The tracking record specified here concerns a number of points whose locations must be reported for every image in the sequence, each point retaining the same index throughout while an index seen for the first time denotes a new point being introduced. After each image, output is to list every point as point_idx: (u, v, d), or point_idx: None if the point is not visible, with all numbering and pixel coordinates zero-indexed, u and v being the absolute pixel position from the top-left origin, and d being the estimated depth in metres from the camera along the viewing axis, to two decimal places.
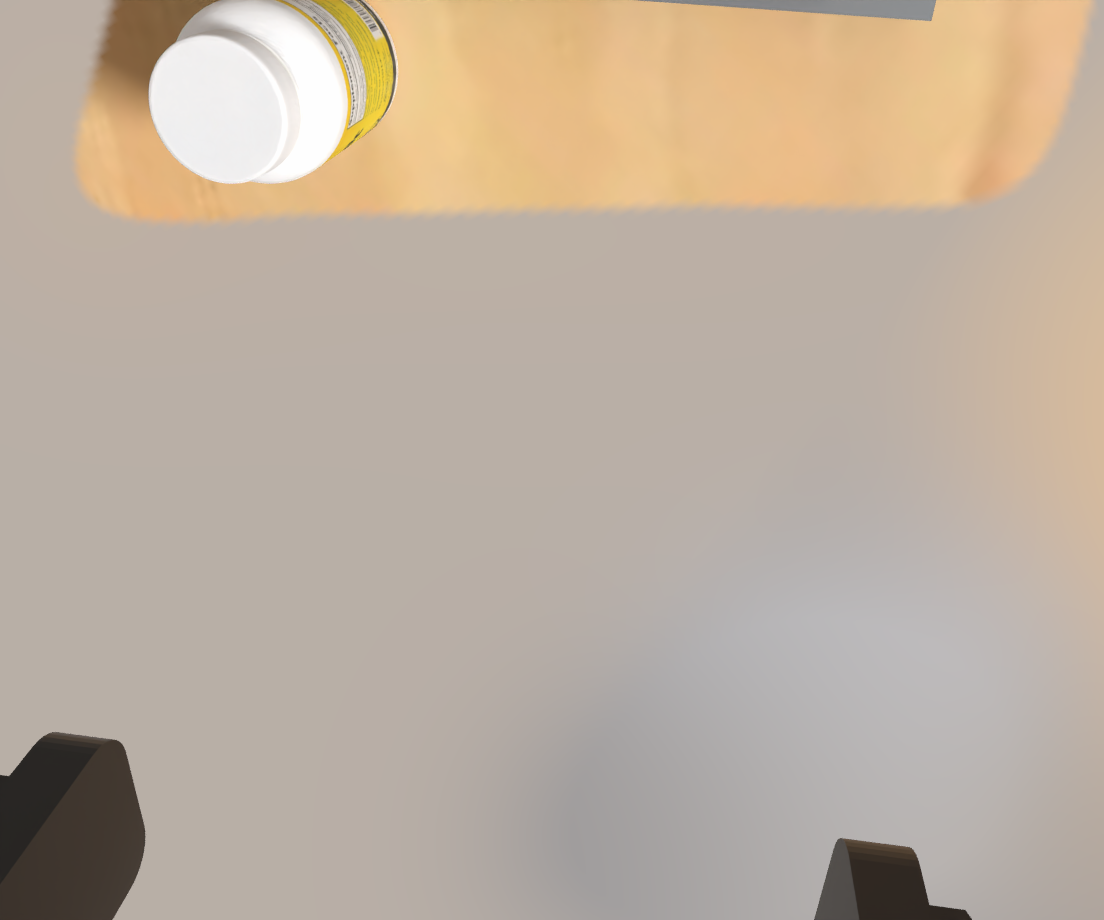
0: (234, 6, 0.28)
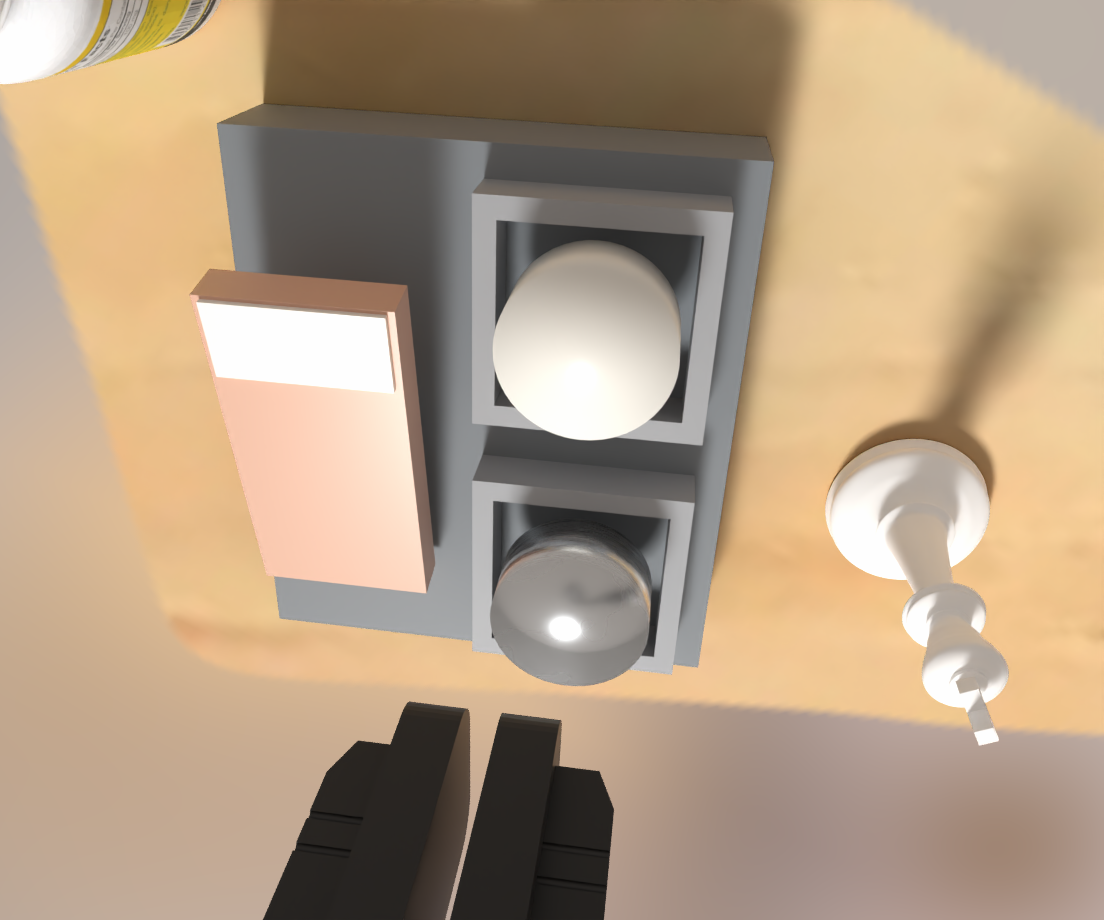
0: None
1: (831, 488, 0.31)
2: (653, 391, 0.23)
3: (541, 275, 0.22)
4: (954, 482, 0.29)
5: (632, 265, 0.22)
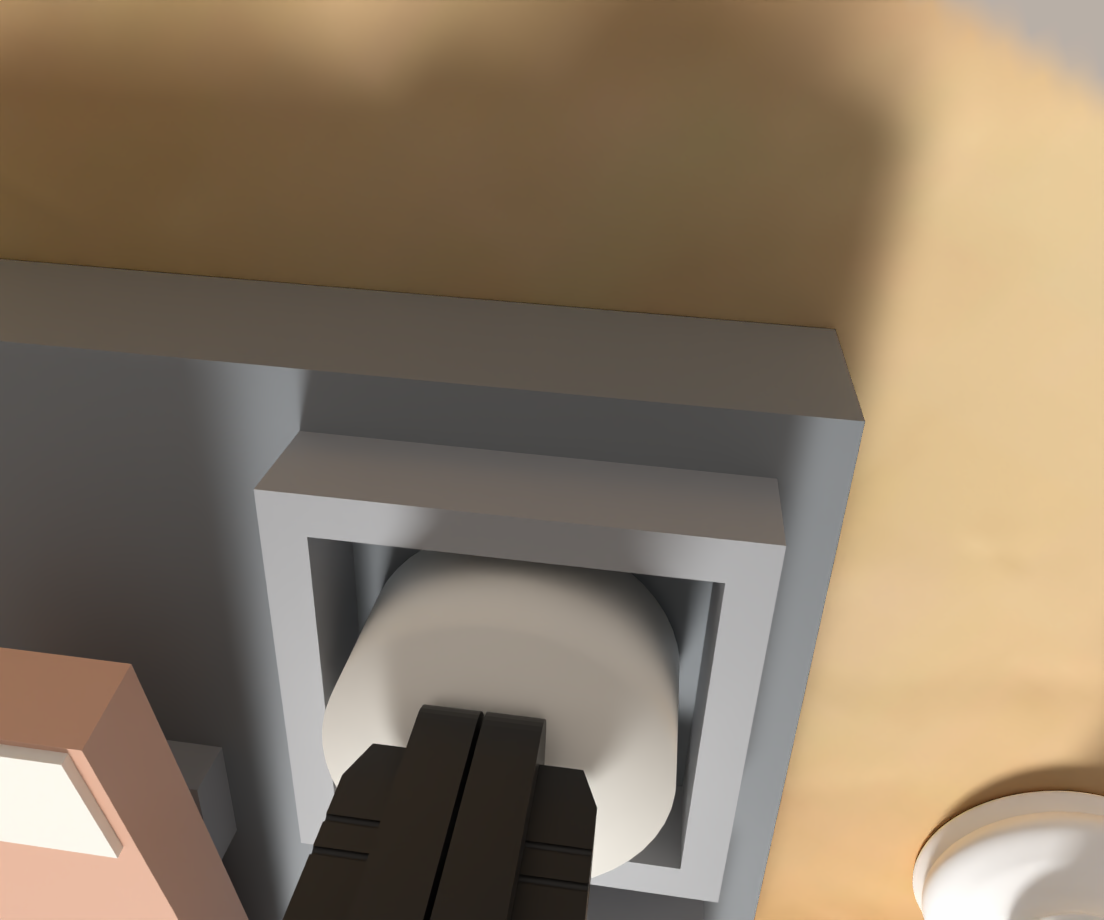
0: None
1: (925, 850, 0.19)
2: (626, 826, 0.12)
3: (403, 638, 0.11)
4: None
5: (585, 600, 0.12)
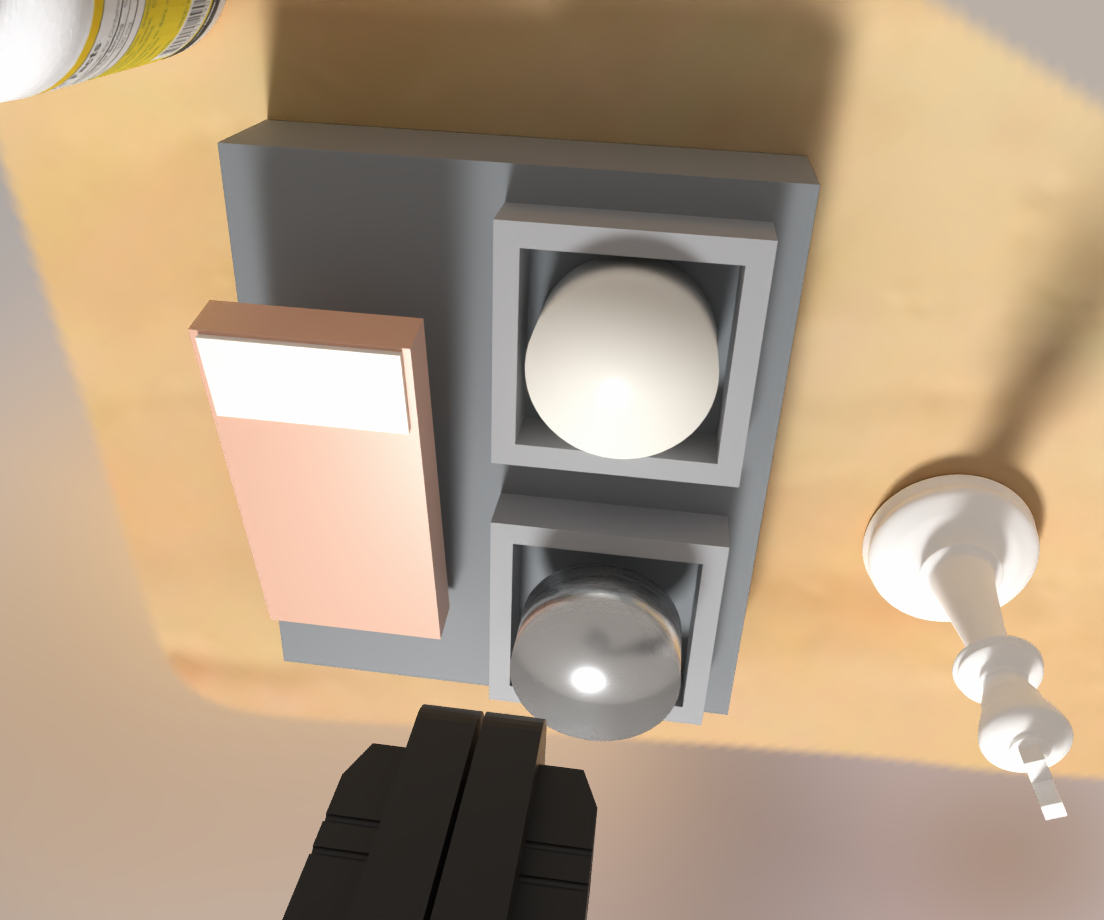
0: None
1: (869, 525, 0.29)
2: (690, 409, 0.22)
3: (577, 291, 0.21)
4: (1002, 521, 0.27)
5: (670, 279, 0.22)
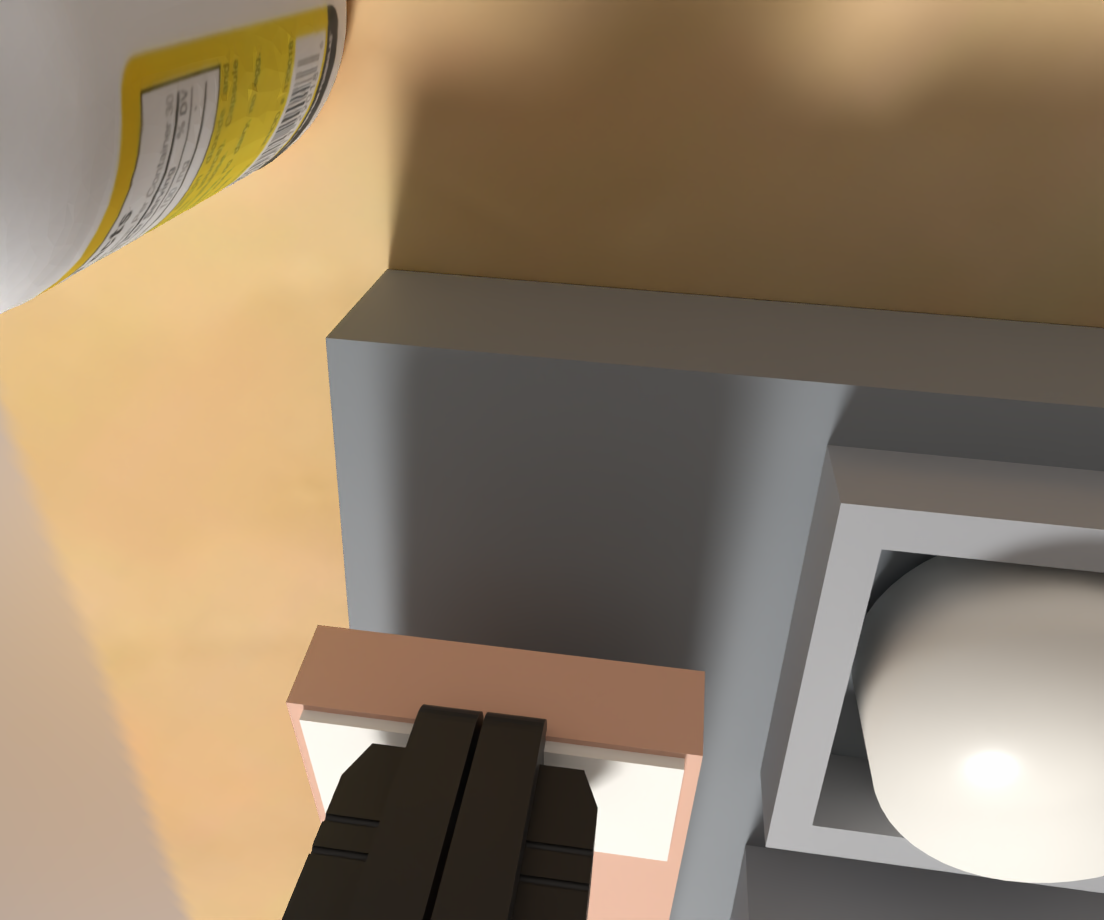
0: (20, 37, 0.07)
1: None
2: None
3: (1003, 641, 0.11)
4: None
5: None
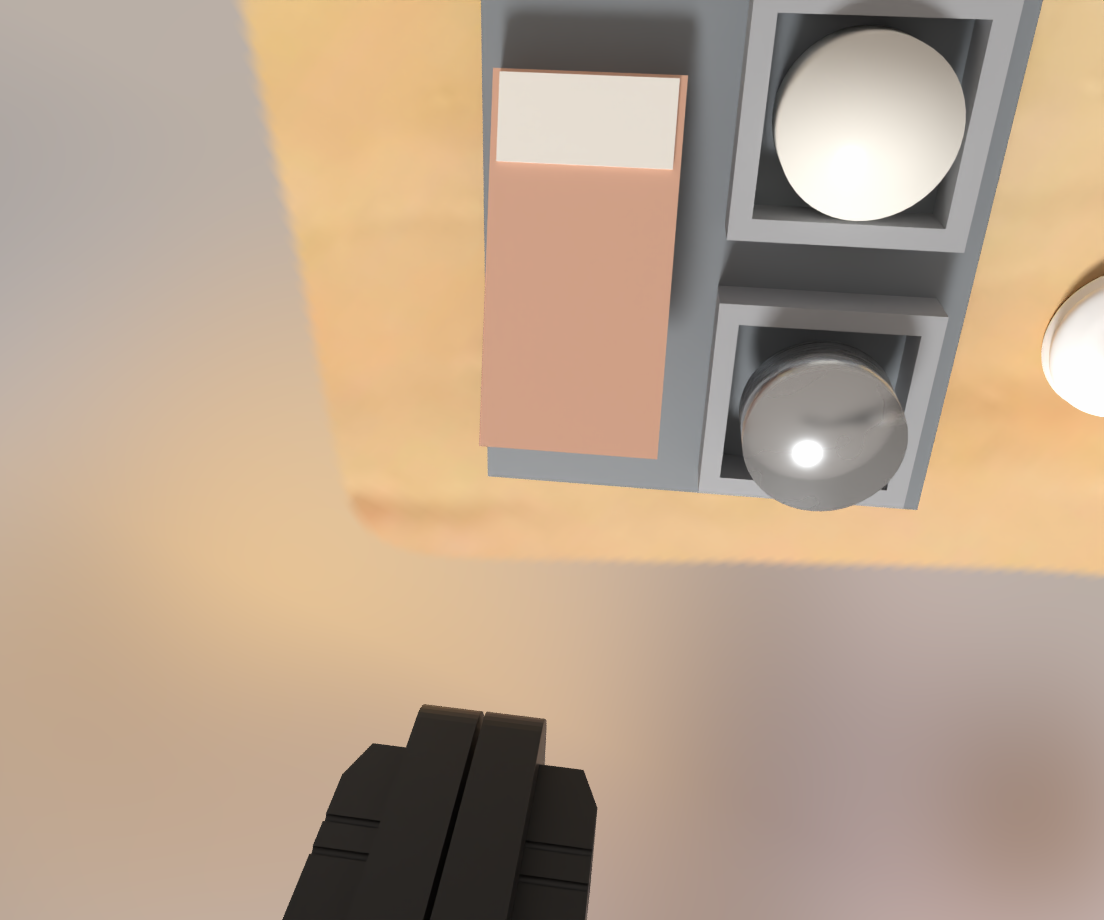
0: None
1: (1050, 324, 0.31)
2: (934, 164, 0.24)
3: (837, 46, 0.23)
4: None
5: None
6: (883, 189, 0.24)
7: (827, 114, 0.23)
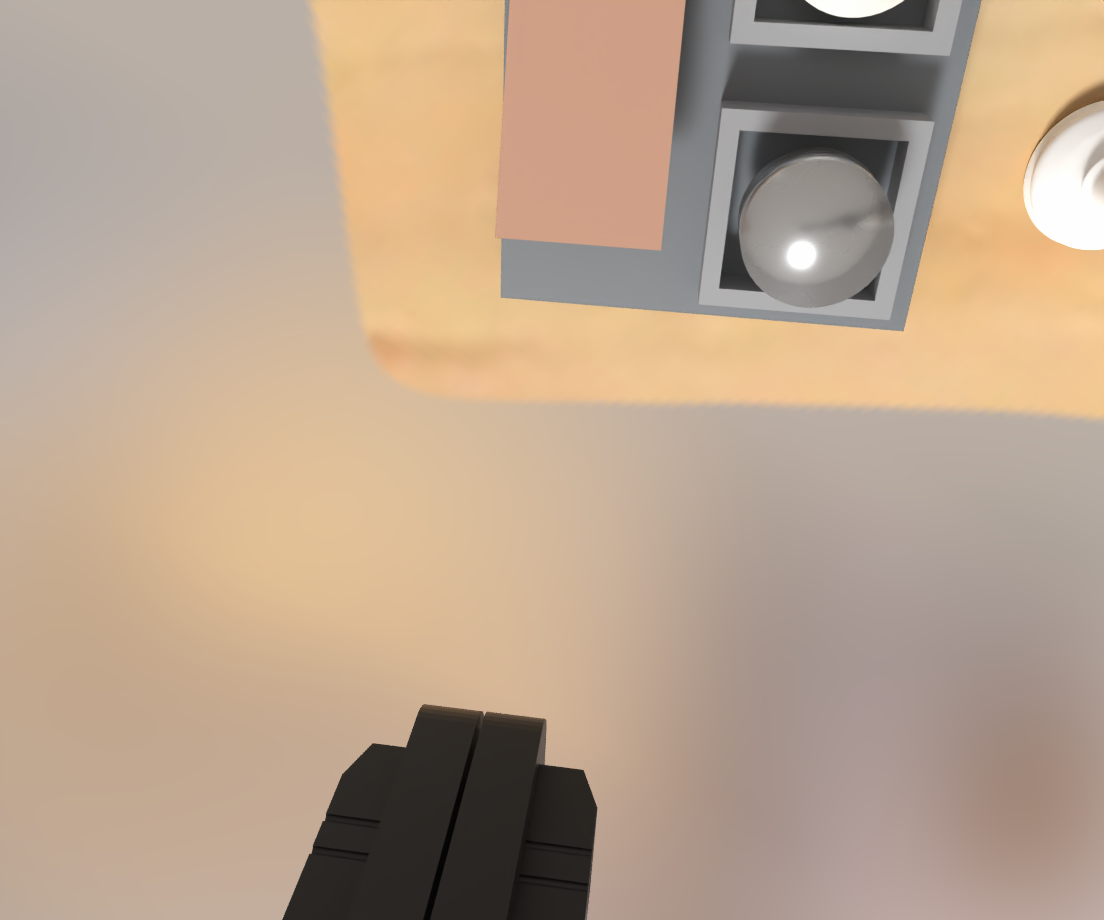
0: None
1: (1032, 157, 0.33)
2: None
3: None
4: None
5: None
6: None
7: None
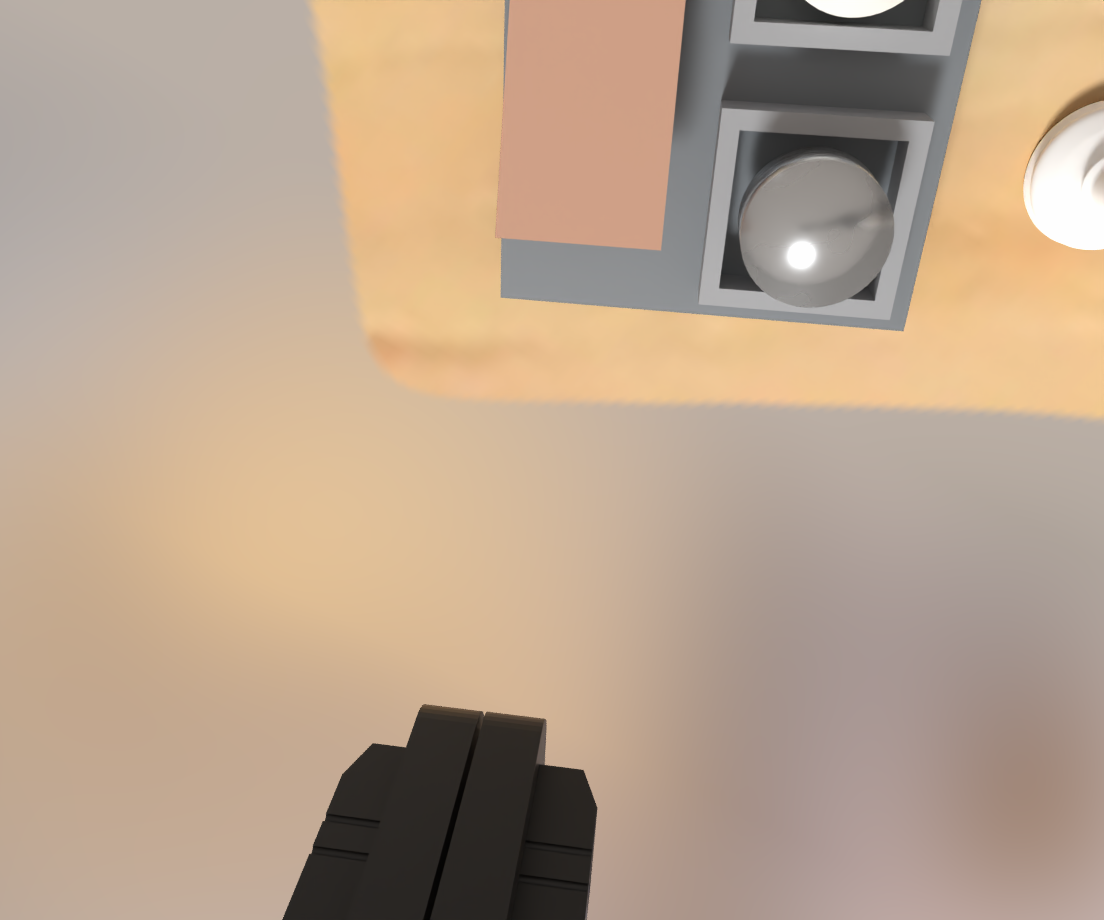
0: None
1: (1032, 157, 0.33)
2: None
3: None
4: None
5: None
6: None
7: None
